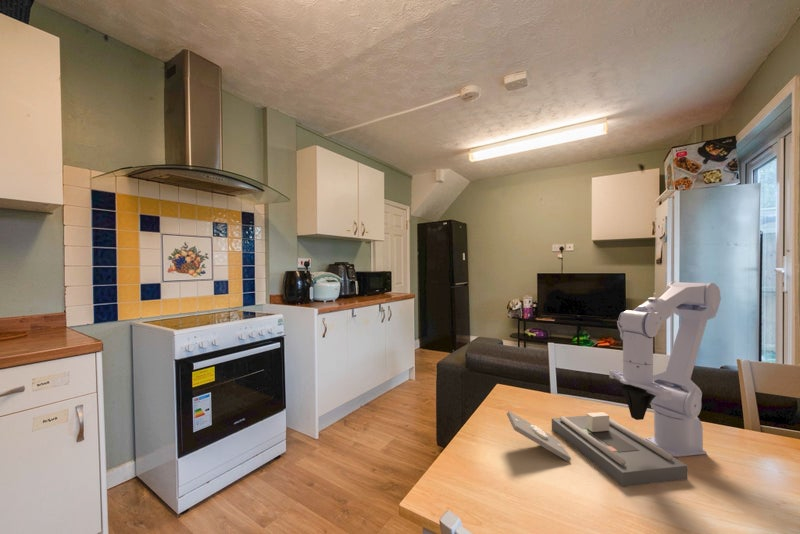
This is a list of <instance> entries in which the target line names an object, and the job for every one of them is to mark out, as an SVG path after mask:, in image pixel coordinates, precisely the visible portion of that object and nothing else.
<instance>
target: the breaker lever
mask: <svg viewBox="0 0 800 534" xmlns="http://www.w3.org/2000/svg"><path fill="white" fill-rule="evenodd" d="M586 416H587V429H589V430H590V431H591V432H599V431H609V418H610V415H609V414H607V413H606V412H604V411H602V412H601V411H599V412H588V413H586Z"/></svg>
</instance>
